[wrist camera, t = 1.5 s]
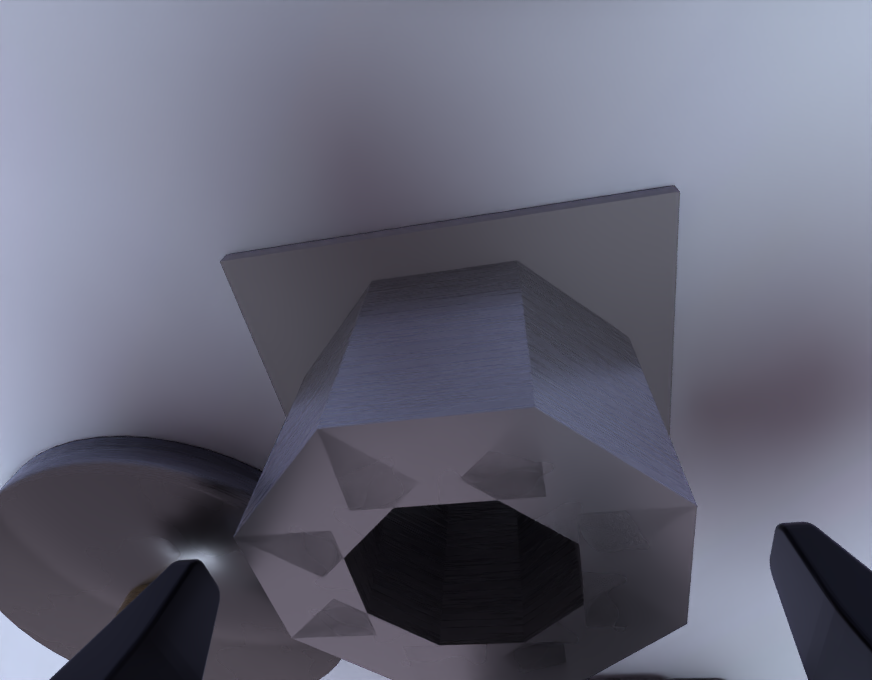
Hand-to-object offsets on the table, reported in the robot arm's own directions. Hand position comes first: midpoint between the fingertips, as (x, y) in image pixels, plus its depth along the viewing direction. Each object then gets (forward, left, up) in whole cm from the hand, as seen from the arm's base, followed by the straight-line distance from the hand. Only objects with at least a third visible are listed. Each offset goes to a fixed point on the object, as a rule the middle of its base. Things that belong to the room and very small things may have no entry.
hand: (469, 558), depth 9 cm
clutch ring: (0, 0, -4) cm, 4 cm away
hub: (-5, +9, -4) cm, 11 cm away
